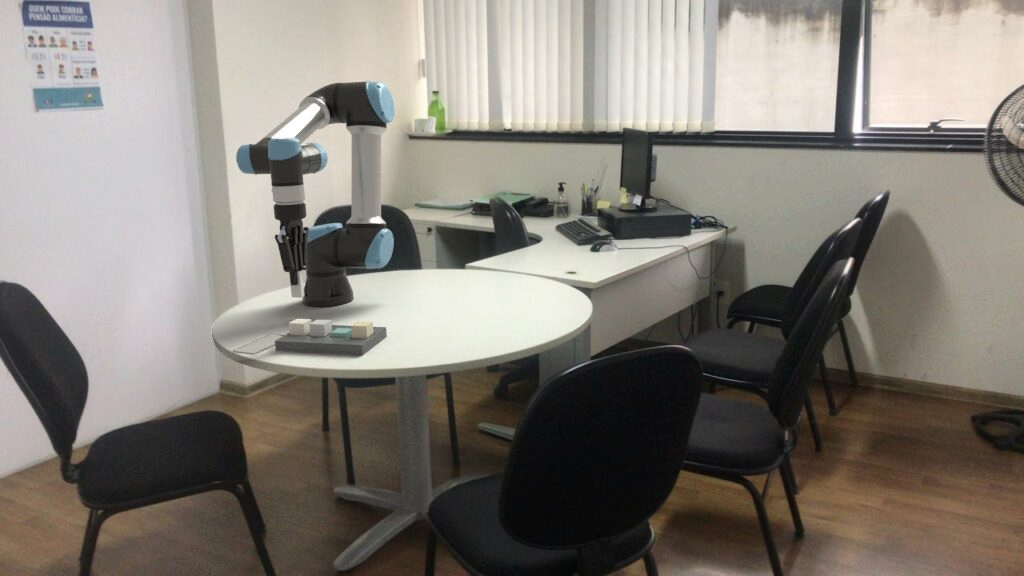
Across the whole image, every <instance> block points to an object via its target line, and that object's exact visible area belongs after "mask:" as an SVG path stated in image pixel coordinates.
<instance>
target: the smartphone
mask: <svg viewBox="0 0 1024 576" xmlns="http://www.w3.org/2000/svg"><path fill="white" fill-rule="evenodd" d="M284 335H285V334H279V333H269V334H267V335H265V336H263V337H260V338H258V339H255V340H253V341H251V342H248V343H246V344H244V345H242V346H238V347H237V348H235V349H233V350H232V353H236V354H237V353H238V354H244V353H245V354H246V355H257V354H260V353H262V352H264V351H266V350H268V349H271V348H273V347H275V341H276V340H277V339H279V338H281V337H283V336H284Z"/></svg>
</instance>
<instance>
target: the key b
mask: <svg viewBox="0 0 1024 576" xmlns="http://www.w3.org/2000/svg"><path fill="white" fill-rule="evenodd" d="M332 323H333V322H332V319H316V320H314V321H311V323H310V324H309V326H310V336H323V337H325V336H327V335H328V334H330V333H331V332H332V325H333V324H332Z"/></svg>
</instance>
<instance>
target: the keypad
mask: <svg viewBox="0 0 1024 576" xmlns="http://www.w3.org/2000/svg"><path fill="white" fill-rule="evenodd" d="M337 328H351V325H341V324H340V325H339V324H338V325H337V324H332V331H334V330H335V329H337ZM373 331H374V334H373V335H371V336H370V337H369V338H352V334H351V335H350V336H349V337H347V338H343V337H331V333H330V334H328V335H327V336H325V337H323V336H310V333H308V334H306V335H305V336H301V335H290V331H289V332H288V333H286V334H283V335H284V336H283V337H281V338H279V339H277V340H276V341H275V346H274V348H275V352H291V353H292V352H295V353H312V354H314V353H315V354H334V355H352V356H353V355H356V356H364V355H365V354H366V353H367V352H369V351H370V350H371V349H374V347H375V346H377V345H378V344H379V343H380V342H382V341H383V340H384V339H386V338H387V337H388V335H387V333H388V332H387V327H386V326H373Z"/></svg>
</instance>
